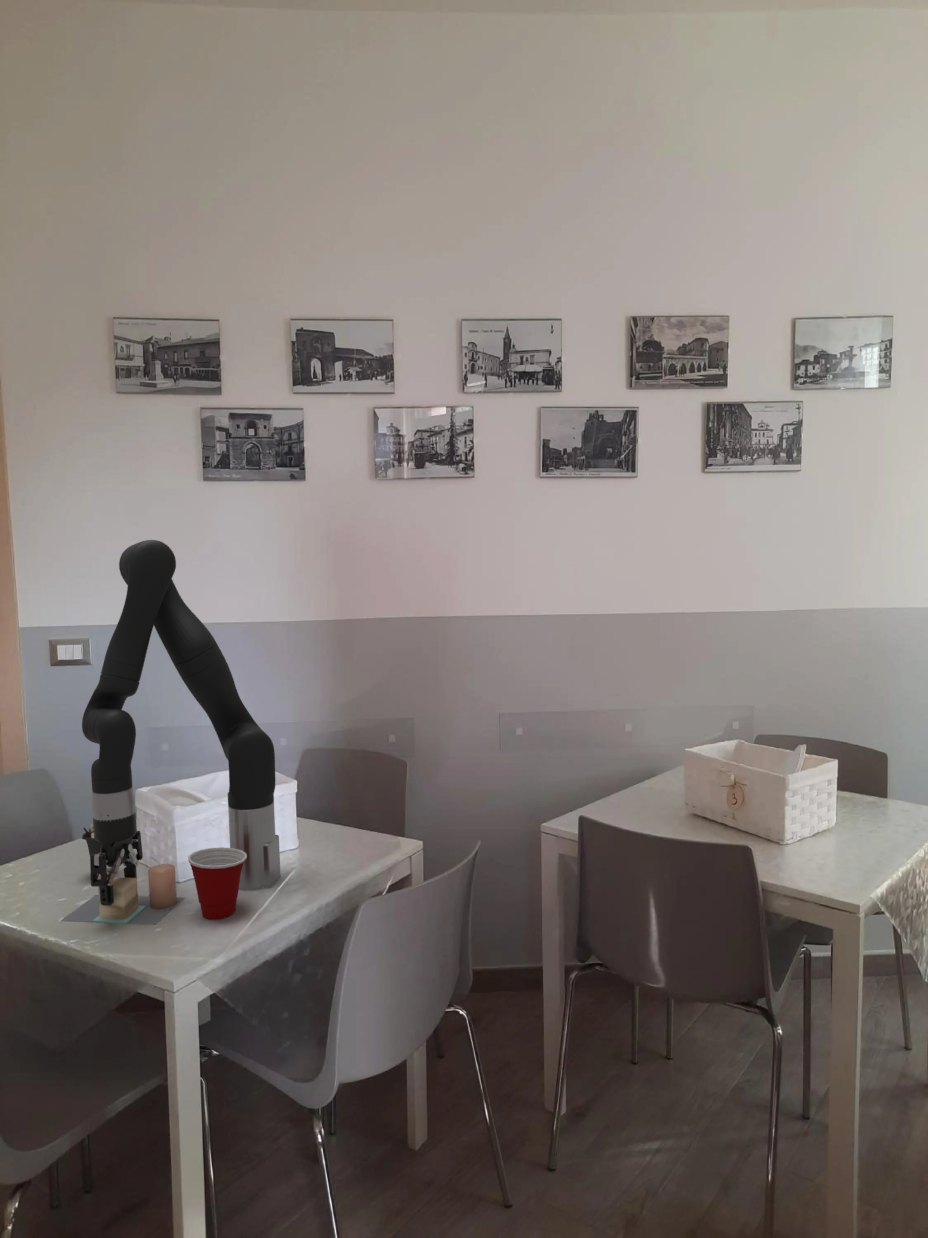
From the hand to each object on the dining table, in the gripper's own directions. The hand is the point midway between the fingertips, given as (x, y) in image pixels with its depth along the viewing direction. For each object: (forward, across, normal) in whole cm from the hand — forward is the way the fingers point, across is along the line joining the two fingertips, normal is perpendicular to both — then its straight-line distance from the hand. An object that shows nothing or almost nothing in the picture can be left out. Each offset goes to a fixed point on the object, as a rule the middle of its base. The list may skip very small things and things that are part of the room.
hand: (119, 895), depth 160 cm
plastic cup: (+5, +2, -19) cm, 20 cm away
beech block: (+4, 0, 0) cm, 4 cm away
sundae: (+5, +18, +14) cm, 23 cm away
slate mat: (+4, +3, +1) cm, 5 cm away
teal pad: (+4, 0, 0) cm, 5 cm away
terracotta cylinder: (+4, +6, -6) cm, 9 cm away
